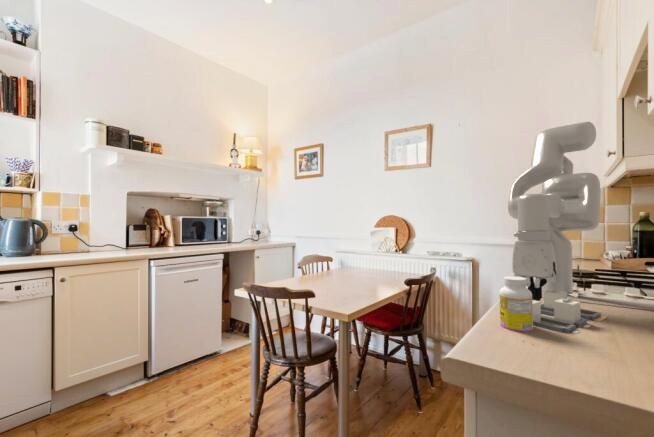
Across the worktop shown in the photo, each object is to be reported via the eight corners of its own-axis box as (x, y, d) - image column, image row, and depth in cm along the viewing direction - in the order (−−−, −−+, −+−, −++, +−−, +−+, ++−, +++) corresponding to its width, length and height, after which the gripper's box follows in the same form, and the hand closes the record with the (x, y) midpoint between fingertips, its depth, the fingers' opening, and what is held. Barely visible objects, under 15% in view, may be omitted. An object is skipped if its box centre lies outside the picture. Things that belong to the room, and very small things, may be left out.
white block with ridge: (561, 318, 79) (560, 296, 79) (580, 322, 76) (580, 299, 76) (554, 321, 77) (553, 298, 77) (573, 326, 74) (573, 302, 74)
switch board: (544, 308, 93) (543, 285, 93) (610, 321, 80) (609, 295, 80) (504, 323, 81) (503, 296, 81) (574, 341, 68) (573, 310, 68)
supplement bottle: (502, 325, 79) (500, 274, 79) (533, 330, 75) (532, 276, 75) (498, 333, 73) (497, 278, 74) (532, 339, 70) (531, 281, 70)
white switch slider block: (550, 307, 89) (550, 287, 89) (567, 310, 86) (566, 289, 86) (544, 309, 87) (543, 289, 87) (561, 313, 84) (560, 292, 84)
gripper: (500, 236, 95) (501, 297, 95) (557, 238, 83) (559, 308, 83) (513, 235, 99) (515, 293, 99) (569, 237, 87) (571, 304, 87)
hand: (535, 300), depth 91 cm, fingers closed
